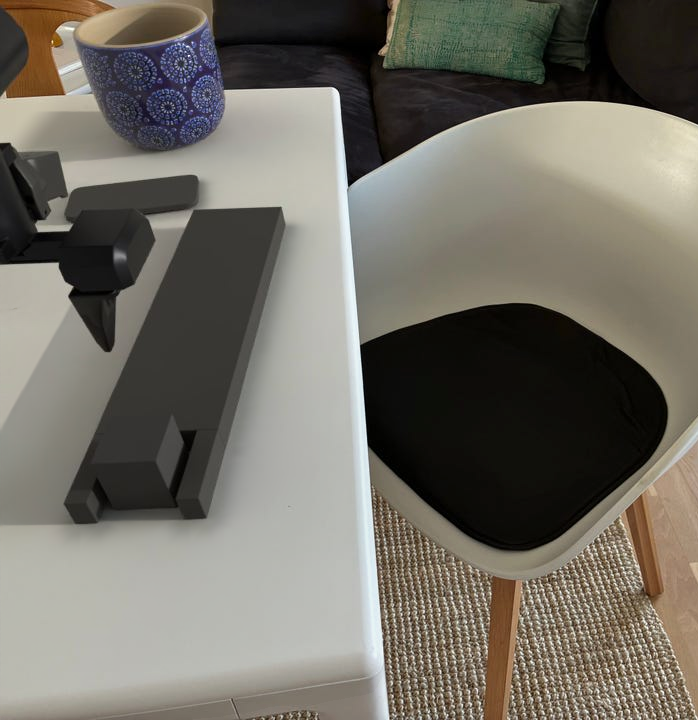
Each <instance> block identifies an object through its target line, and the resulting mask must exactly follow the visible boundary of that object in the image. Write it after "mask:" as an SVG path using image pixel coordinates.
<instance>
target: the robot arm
mask: <svg viewBox="0 0 698 720" xmlns="http://www.w3.org/2000/svg"><path fill="white" fill-rule="evenodd" d="M29 56H30V46H29V41H28V37H27V35H26V33H25V31H24V29H23V27H22V26H21V25H20V24H19V23H18V22H17V21H16V20H15V18H14V16H12V15H11V14H10V13H9V12H8V11H7V10H6V9H5V8H3V7H2V6H1V5H0V98H2V96H3V94H4V93H5V92H6V91H7V89H8V88H9V87H10V86H11V85H12V83H13V82H14V81H15V80H16V79H17V78H18V76H19V75H20V73H21V72H22V71H23V70H24V68H25V67H26V66H27V63H28V60H29ZM60 157H61V156H60V152H59V151H57V150H38V151H37V150H35V151H34V150H33V151H18V150H17V149H16V147H14V146H13V144H12V142H0V266H3V265H4V266H6V265H9V266H10V265H35V264H58V270H59V272H60V275H61V276H62V278H63V281H64V283H66V284H68V285H70V286H71V287H72V288H71V290H70V292H69V293H68V294H67V297H68V300H69V301H70V303H71V305H72V306H73V307H74V309H75V311H76V312H77V314H78V315H79V317H80V319H81V321H82V322H83V324H84V325H85V327H86V328H87V330H88V331H89V333H90V334H91V336H92V338H93V339H94V341H95V343H96V344H97V346H99V347H100V349H101V350H102V351H103V353H111V352H112V351H113V349H114V347H115V343H116V318H117V317H116V315H117V297H118V296H119V295H120V294H121V292H122V291H125V290H126V289H129V288H130V287H132V286H134V285H135V284H136V283H137V280H138V278H139V276H140V275H141V272H142V271H143V268H144V265H145V264H146V261H147V260H148V258H149V256H150V253H151V251H152V249H153V248H154V245H155V243H156V241H157V239H156V237H155V234H154V229H153V228H152V225H151V222H150V219H149V218H148V217H147V216H145V214H142V213H141V212H139V211H138V210H136V209H134V208H126V209H97V210H82V211H81V213H80V214H79V216H78V218H77V219H76V221H75V222H73V224H72V225H71V227H70V228H69V230H59V231H58V230H57V231H55V230H54V231H53V230H51V231H39V230H38V227H37V226H36V224H37V222H39V221H46V220H47V218H48V217H49V216H50V214H51V213H52V209H51V206H50V204H49V202H50V201H53V200H55V199H57V198H60V199H65V198H69V193H68V188H67V182H66V178H65V175H64V170H63V167H62V161H61V158H60Z"/></svg>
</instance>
